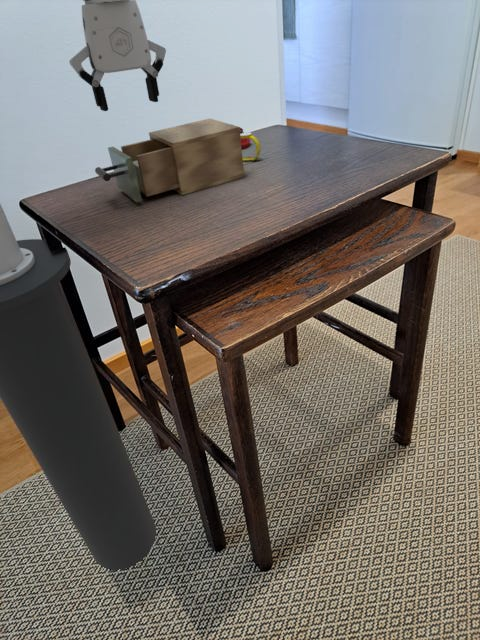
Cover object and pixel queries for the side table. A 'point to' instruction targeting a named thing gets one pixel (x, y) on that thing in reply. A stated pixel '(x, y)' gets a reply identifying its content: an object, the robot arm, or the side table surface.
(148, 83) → the robot arm
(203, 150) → the cabinet
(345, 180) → the side table surface
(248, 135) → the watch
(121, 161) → the drawer
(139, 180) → the block
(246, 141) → the tracker holder
